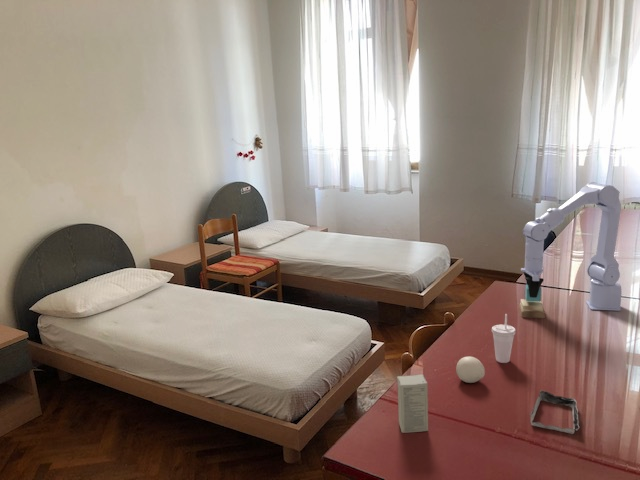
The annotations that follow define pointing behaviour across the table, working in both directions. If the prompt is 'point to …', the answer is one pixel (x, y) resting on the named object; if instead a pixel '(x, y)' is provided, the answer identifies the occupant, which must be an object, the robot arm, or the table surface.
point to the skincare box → (412, 403)
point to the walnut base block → (531, 313)
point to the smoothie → (503, 341)
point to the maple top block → (531, 305)
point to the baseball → (470, 369)
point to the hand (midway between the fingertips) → (532, 294)
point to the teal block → (531, 297)
